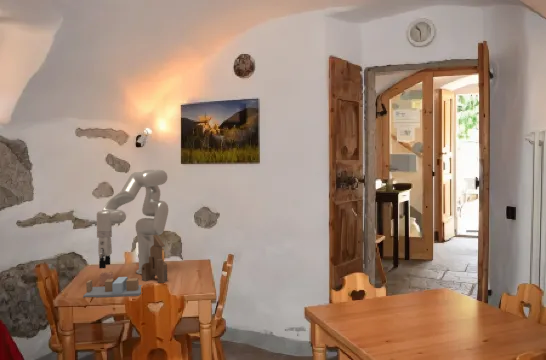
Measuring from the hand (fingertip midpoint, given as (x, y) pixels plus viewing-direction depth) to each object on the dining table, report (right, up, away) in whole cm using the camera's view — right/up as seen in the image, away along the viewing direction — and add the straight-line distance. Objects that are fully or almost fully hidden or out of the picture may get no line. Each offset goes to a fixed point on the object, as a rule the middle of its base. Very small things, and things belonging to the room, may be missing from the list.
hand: (104, 266), depth 278 cm
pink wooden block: (+1, -10, +1) cm, 10 cm away
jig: (+10, -11, -15) cm, 21 cm away
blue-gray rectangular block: (+13, -9, -15) cm, 22 cm away
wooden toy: (+25, -9, +7) cm, 28 cm away
